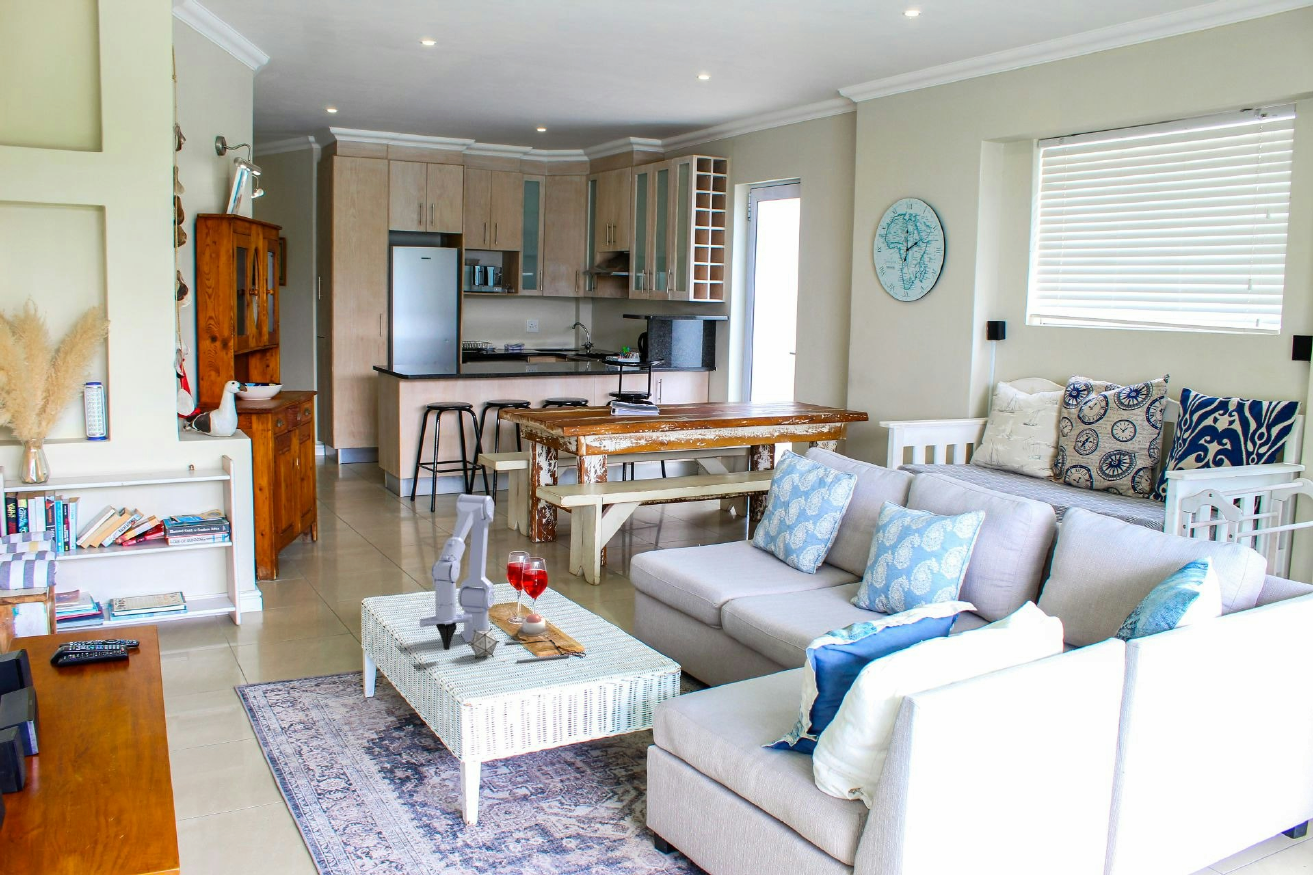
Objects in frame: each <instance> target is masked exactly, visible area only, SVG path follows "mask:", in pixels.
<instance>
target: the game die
mask: <svg viewBox="0 0 1313 875" xmlns="http://www.w3.org/2000/svg"><path fill="white" fill-rule="evenodd" d="M489 628H490V629H489V630H487V631H476V630H474V632H475V633H474V636H473V639H472V641H471V642H470V643H468V644H467V646H469V647H471V649H472V650H473V653H474V655H475V660H476V659H477V658H478V657H488V656H491V657H492V658H494V651H495V649H496V647H497V643H498V644H499V643H500V641H499V640H497V639H496V637H495V636H494V634H493V632H492V630H493V627H489Z"/></svg>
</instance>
